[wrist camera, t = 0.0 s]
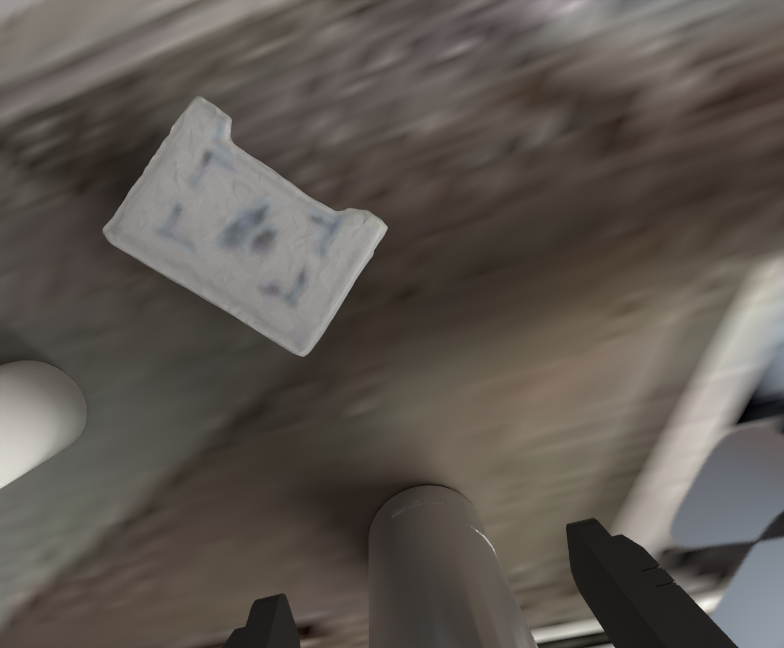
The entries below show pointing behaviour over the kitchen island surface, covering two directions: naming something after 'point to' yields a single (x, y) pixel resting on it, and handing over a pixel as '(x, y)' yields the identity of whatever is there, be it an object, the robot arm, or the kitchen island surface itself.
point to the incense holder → (242, 232)
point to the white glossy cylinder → (36, 416)
